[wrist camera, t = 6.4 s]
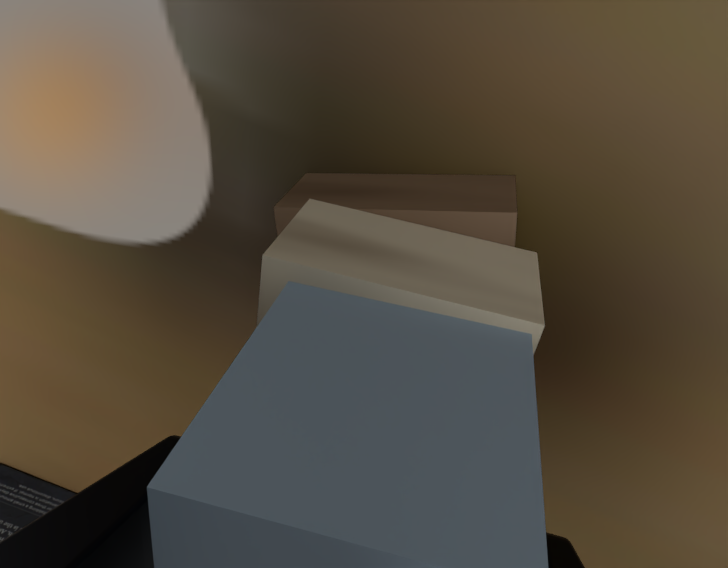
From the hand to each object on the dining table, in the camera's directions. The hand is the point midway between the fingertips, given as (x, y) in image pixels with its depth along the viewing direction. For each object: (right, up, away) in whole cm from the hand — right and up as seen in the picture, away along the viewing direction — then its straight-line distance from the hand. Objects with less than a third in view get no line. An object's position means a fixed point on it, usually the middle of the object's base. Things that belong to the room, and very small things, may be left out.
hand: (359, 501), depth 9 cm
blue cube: (+1, +1, +2) cm, 3 cm away
